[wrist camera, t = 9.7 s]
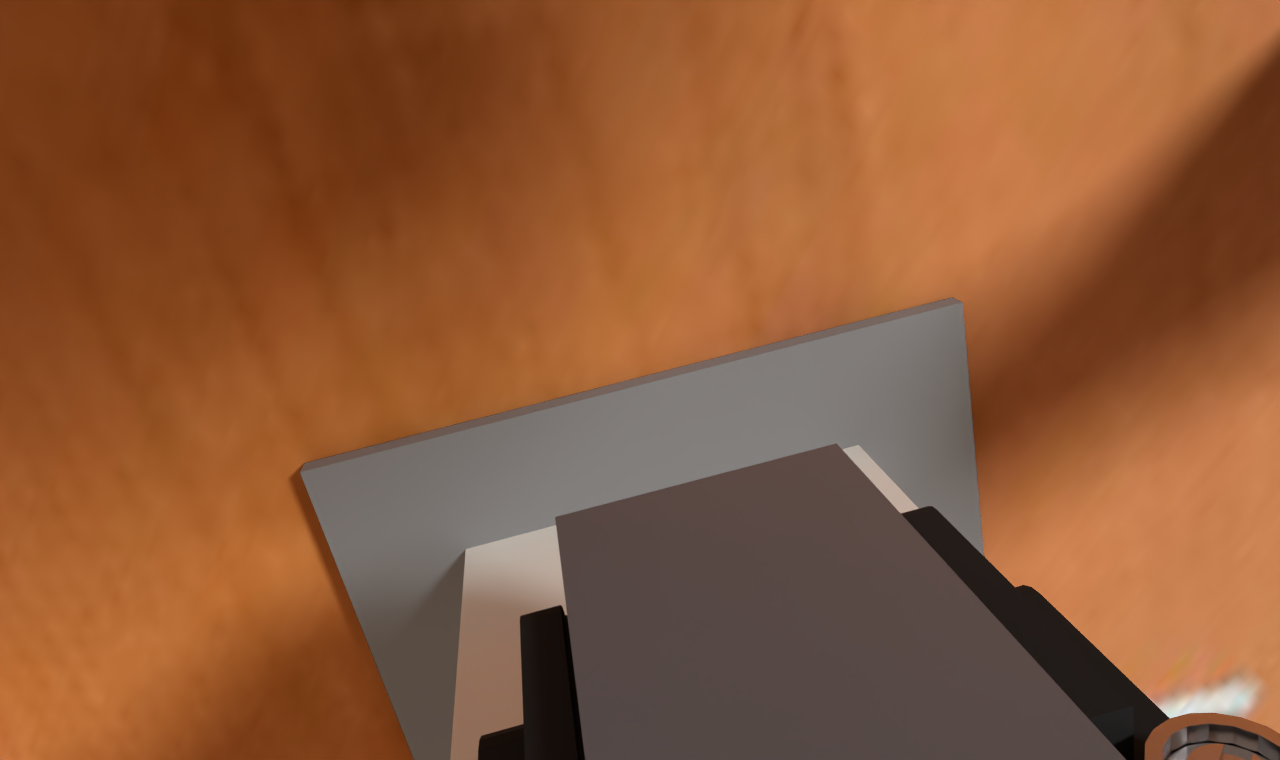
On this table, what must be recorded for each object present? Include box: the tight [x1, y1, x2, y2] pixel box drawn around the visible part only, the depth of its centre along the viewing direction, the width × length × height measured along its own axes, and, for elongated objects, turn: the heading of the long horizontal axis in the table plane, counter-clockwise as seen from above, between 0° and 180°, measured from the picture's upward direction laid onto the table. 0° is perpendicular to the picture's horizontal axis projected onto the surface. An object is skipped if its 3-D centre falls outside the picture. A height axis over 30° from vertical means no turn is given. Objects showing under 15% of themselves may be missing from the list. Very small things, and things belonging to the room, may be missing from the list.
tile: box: [450, 445, 919, 760], centre depth 16 cm, size 2×10×12 cm, turn 103°
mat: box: [300, 297, 984, 760], centre depth 24 cm, size 20×16×1 cm
